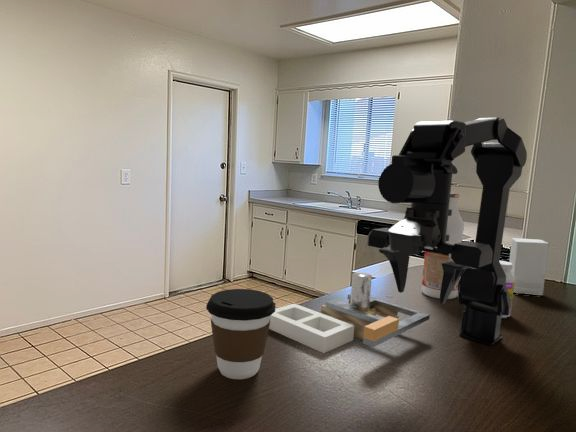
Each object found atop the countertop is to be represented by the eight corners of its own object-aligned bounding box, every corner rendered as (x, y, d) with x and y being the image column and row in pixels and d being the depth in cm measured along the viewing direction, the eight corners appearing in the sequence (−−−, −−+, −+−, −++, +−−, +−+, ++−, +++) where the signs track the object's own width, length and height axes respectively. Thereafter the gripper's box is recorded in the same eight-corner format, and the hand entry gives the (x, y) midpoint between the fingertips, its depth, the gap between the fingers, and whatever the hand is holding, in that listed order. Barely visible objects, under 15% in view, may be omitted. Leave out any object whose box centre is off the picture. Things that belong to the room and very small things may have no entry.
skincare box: (535, 291, 125) (542, 239, 123) (543, 298, 118) (551, 243, 116) (504, 288, 127) (511, 236, 125) (511, 294, 120) (517, 240, 118)
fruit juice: (432, 300, 111) (443, 193, 107) (414, 289, 120) (424, 190, 116) (464, 299, 113) (476, 194, 109) (444, 289, 122) (454, 192, 118)
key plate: (429, 319, 85) (430, 305, 85) (373, 347, 70) (374, 330, 70) (355, 296, 97) (356, 283, 97) (294, 316, 83) (295, 301, 82)
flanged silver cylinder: (381, 326, 91) (385, 276, 89) (362, 334, 86) (366, 281, 84) (354, 316, 95) (358, 269, 94) (335, 323, 90) (338, 273, 89)
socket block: (397, 326, 91) (399, 309, 90) (366, 341, 82) (367, 322, 82) (351, 311, 99) (352, 295, 98) (318, 323, 90) (319, 305, 90)
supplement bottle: (497, 320, 98) (503, 266, 97) (474, 310, 104) (479, 259, 102) (516, 317, 101) (523, 264, 99) (493, 308, 107) (499, 258, 105)
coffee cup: (244, 396, 61) (248, 315, 59) (189, 372, 66) (191, 299, 65) (285, 367, 70) (289, 297, 69) (233, 349, 76) (236, 283, 74)
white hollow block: (353, 340, 82) (354, 325, 82) (323, 353, 76) (324, 337, 76) (293, 316, 93) (294, 303, 93) (263, 326, 87) (264, 312, 87)
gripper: (351, 197, 67) (344, 292, 69) (469, 211, 55) (457, 327, 57) (388, 196, 75) (381, 281, 77) (499, 208, 63) (487, 309, 64)
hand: (420, 297), depth 69 cm, fingers open, 7 cm apart
